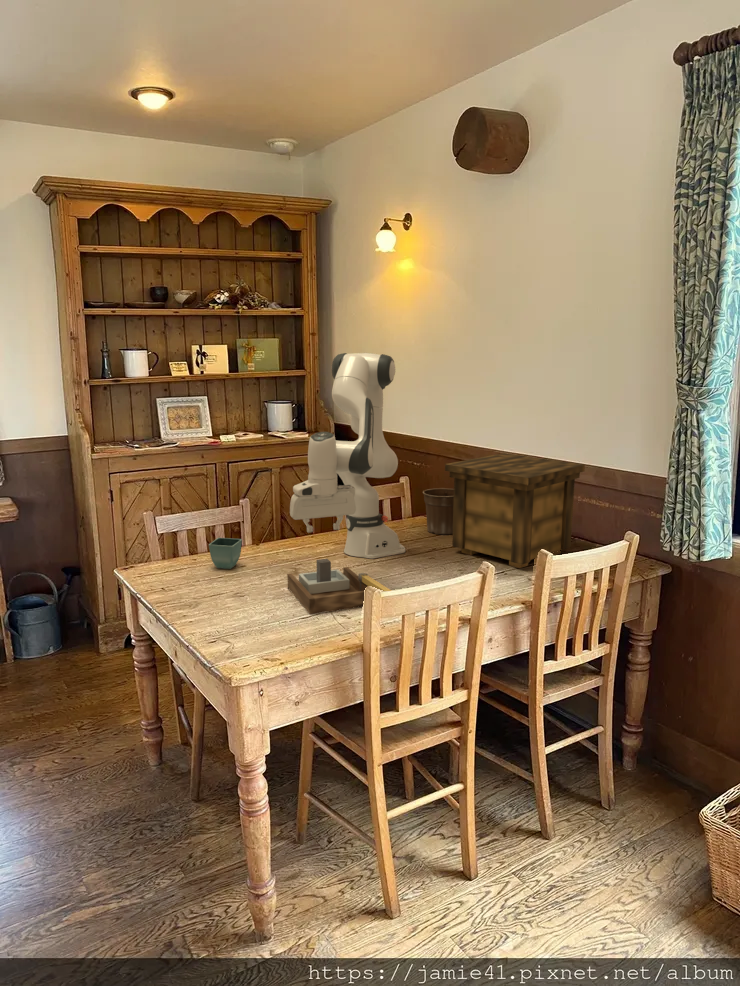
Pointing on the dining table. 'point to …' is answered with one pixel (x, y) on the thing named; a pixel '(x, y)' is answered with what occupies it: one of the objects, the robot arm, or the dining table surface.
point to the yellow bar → (371, 582)
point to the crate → (513, 506)
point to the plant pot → (439, 510)
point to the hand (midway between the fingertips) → (323, 530)
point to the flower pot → (225, 552)
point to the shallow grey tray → (324, 579)
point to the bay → (329, 595)
